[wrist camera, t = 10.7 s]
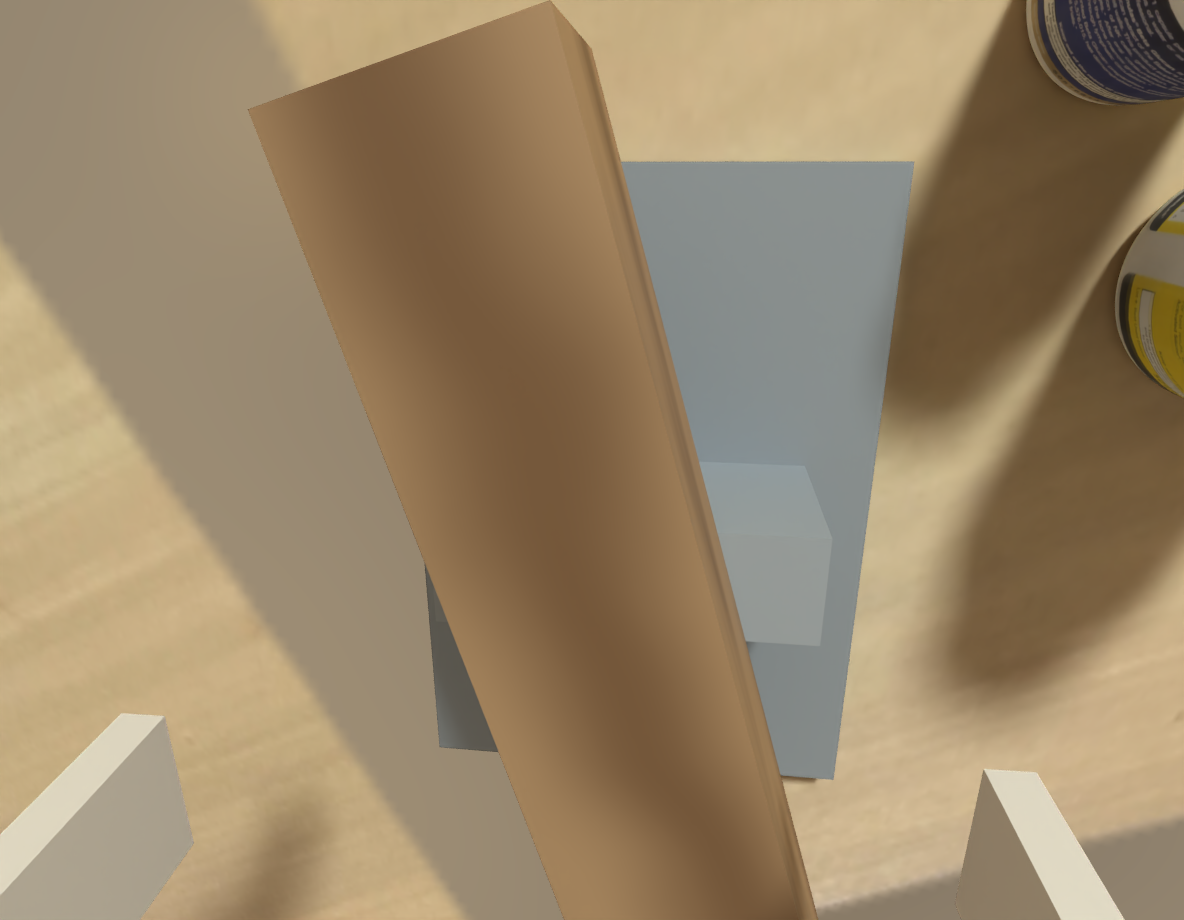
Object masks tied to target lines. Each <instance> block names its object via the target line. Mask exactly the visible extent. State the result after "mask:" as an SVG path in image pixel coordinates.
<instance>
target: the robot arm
mask: <svg viewBox="0 0 1184 920" xmlns="http://www.w3.org/2000/svg"><path fill="white" fill-rule="evenodd" d="M193 844H194V841H193V837H192V833H191V828H190V824H189V820H188V815H187V811H186V806H185V802H184V798H183V793H182V789H181V785H180V780H179V776H178V772H177V767H176V763H175V759H174V754H173V750H172V746H171V741H170V737H169V733H168V728H167V724H166V719H165V716H155V715H139V714H124V713H121V714H120V715H119V716H118V717H117V718H116V719H115V720H114V721H113V722H112V723H111V724H110V725H109V726H108V727H107V728H106V729H105V730H104V731H103V732H102V733H101V734H100V735H99V736H98V737H97V738H96V739H95V740H94V741H93V742H92V743H91V744H90V745H89V746H88V747H87V748H86V749H85V750H84V751H83V752H82V753H81V754H80V755H79V756H78V757H77V758H76V759H75V760H74V761H73V762H72V763H71V764H70V765H69V766H68V767H67V768H66V769H65V770H64V771H63V772H62V773H61V774H60V775H59V776H58V777H57V778H56V779H55V780H54V781H53V782H52V783H51V784H50V785H49V786H48V787H47V788H46V789H45V790H44V791H43V792H42V793H41V794H40V795H39V796H38V797H37V798H36V799H35V800H34V801H33V802H32V803H31V804H30V805H29V806H28V807H27V808H26V809H25V810H24V811H23V812H22V813H21V814H20V815H19V816H18V817H17V818H16V819H15V820H14V821H13V822H12V823H11V824H10V825H9V826H8V827H7V828H6V829H5V830H4V831H3V832H2V833H1V834H0V920H140V919H141V918H142V916H143V915H144V913H145V912H146V911H147V909H148V908H149V906H150V905H151V903H152V902H153V901H154V899H155V898H156V896H157V895H158V894H159V892H160V891H161V889H162V888H163V886H164V885H165V884H166V882H167V881H168V879H169V878H170V876H171V875H172V874H173V872H174V871H175V869H176V868H177V867H178V865H179V864H180V862H181V861H182V859H183V858H184V857H185V855H186V854H187V852H188V851H189V849H190V848H191V847H192V845H193ZM955 905H956V908H957V910H958V913H959V915H960V918H961V920H1124V918H1123V917H1122V915H1121V913H1120V912H1119V910H1118V908H1117V907H1116V905H1115V903H1114V902H1113V900H1112V898H1111V897H1110V895H1109V893H1108V892H1107V890H1106V888H1105V887H1104V885H1103V883H1102V882H1101V880H1100V878H1099V877H1098V875H1097V873H1096V871H1095V870H1094V868H1093V866H1092V865H1091V863H1090V861H1089V860H1088V858H1087V856H1086V855H1085V853H1084V851H1083V850H1082V848H1081V846H1080V845H1079V843H1078V841H1077V839H1076V838H1075V836H1074V834H1073V833H1072V831H1071V829H1070V828H1069V826H1068V824H1067V823H1066V821H1065V819H1064V818H1063V816H1062V814H1061V813H1060V811H1059V809H1058V808H1057V806H1056V804H1055V803H1054V801H1053V799H1052V798H1051V796H1050V794H1049V793H1048V791H1047V789H1046V788H1045V786H1044V784H1043V782H1042V781H1041V779H1040V777H1039V776H1038V774H1037V772H1023V771H1007V770H992V769H984V770H983V775H982V780H981V784H980V789H979V793H978V798H977V803H976V807H975V812H974V817H973V821H972V826H971V831H970V835H969V840H968V845H967V849H966V854H965V859H964V863H963V868H962V873H961V877H960V882H959V887H958V892H957V896H956V901H955Z"/></svg>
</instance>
